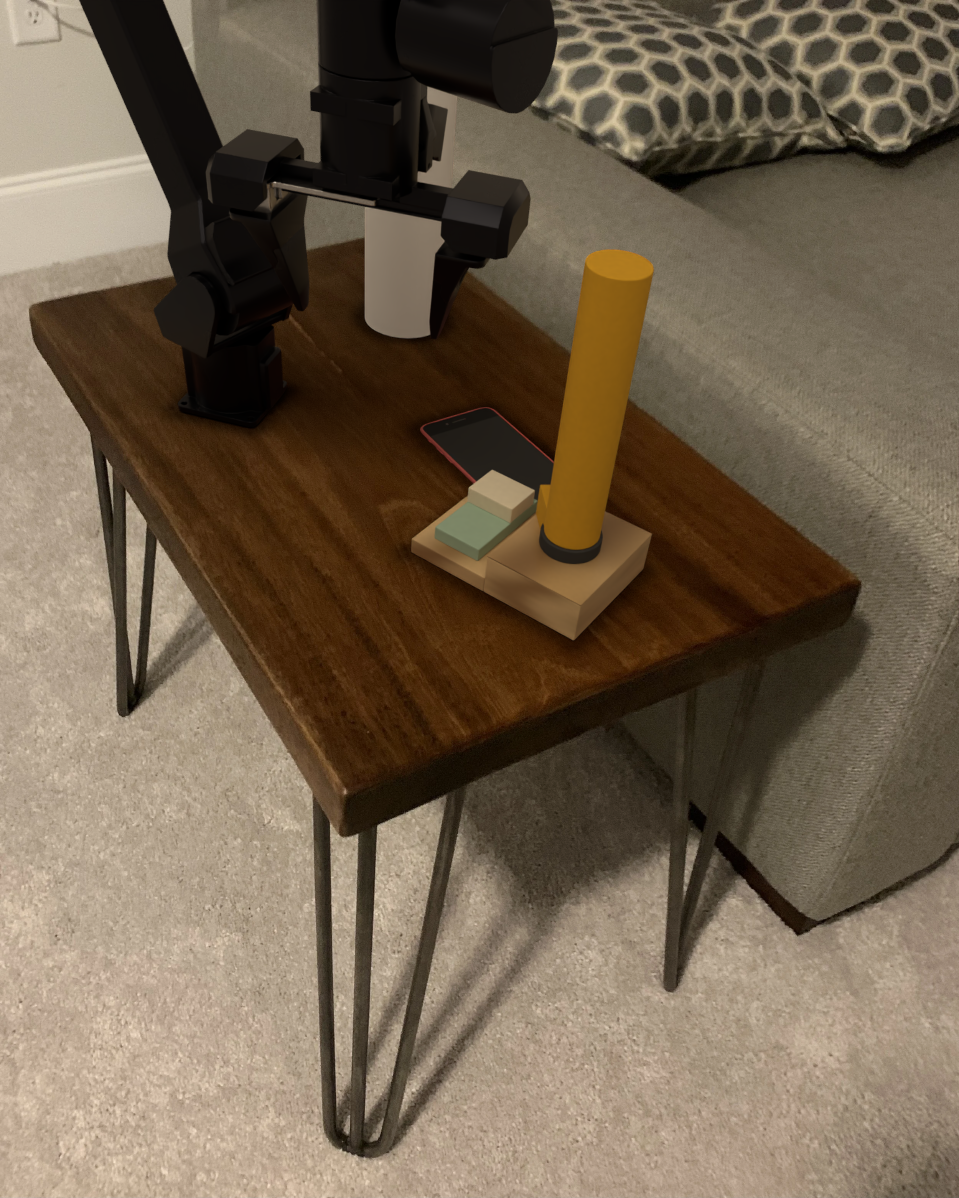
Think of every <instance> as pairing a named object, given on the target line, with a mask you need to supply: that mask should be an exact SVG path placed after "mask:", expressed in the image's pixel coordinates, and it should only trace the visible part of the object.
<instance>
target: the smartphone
mask: <svg viewBox="0 0 959 1198" xmlns="http://www.w3.org/2000/svg"><path fill="white" fill-rule="evenodd" d="M420 433H421V434H422V436H424V437H425V438H426V439H427V441H428V442H429V443H430V444H432V445H433V446H434V447H435V449H436V450H437V451H438V452H439V453H440V454H442V455H443V456H444V457H445V459H446V460H447V461H449V462H450V464H452V465H453V466H455V467H456V468H457V470H459V472H461V473H462V474H463V475H464V476H465V477H466V478H467V479H468V480H469V481H470V482H471V483H472V485H473V484H474V483H475V482H477V481H478V480H479V479H481V478H482V477H483V476H485V475H486V474H487V473H489V472H490V471H491V470H494V471H496V472H498V473H500V474H502V475H504V476H506V477H508V478H510V479H512V480H514V481H516V482H519V483H521V484H523V485H525V486H527V487H529V488H531V489H533V490H535V494H534V499H536V500H537V501H538V496H539V489H540V485H551V479H552V472H553V466H554V460H553V459H552V458H550V456H548V455H547V454H546V453H544V451H542V450H541V449H540V448H539V447H538V446H537V445H536V444H534V443H533V442H532V441H531V440H529V438H528V437H527V436H525V435H524V434H523V433H522V432H521V431H520V430H518V429H517V428H516V427H515V426H514V425H512V423H510V422H509V421H508V420H507V419H505V417H504V416H502V414H500V413H499V412H498V411H497V410H496V409H494V408H491V407H487V406H485V407H478V408H474V409H471V410H467V411H465V412H461V413H457V414H455V415H450V416H448V417H443V418H440V419H437V420H434V421H430V422H428V423H425V424H423V425H422V426H421V427H420Z"/></svg>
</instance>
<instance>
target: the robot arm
mask: <svg viewBox="0 0 959 1198" xmlns="http://www.w3.org/2000/svg"><path fill="white" fill-rule="evenodd" d="M78 2H79V4H80V6H81V9H82V11H83V13H84V15H85V17H86V20H87V22H88V24H89V26H90V28H91V31H92V33H93V36H94V38H95V40H96V42H97V45H98V47H99V49H100V51H101V54H102V56H103V58H104V61H105V63H106V65H107V67H108V70H109V72H110V75H111V77H112V79H113V81H114V83H115V85H116V88H117V91H118V92H119V95H120V96H121V97H120V98H121V99H122V102H123V104H124V106H125V109H126V110H127V113H128V115H129V117H130V120H131V122H132V124H133V126H134V128H135V131H136V134H137V135H138V138H139V140H140V143H141V144H142V147H143V149H144V152H145V153H146V156H147V158H148V160H149V162H150V165H151V167H152V169H153V172H154V174H155V176H156V179H157V181H158V183H159V186H160V187H161V191H162V192H163V195H164V197H165V199H166V201H167V204H168V207H169V211H170V218H169V230H168V241H167V252H166V255H167V256H166V257H167V261H168V264H169V266H170V269H171V272H172V275H173V278H174V281H175V284H176V285H175V286H174V287H173V288H172V289H171V290H170V291H169V292H168V293H167V294H166V295H165V296H164V297H163V298H162V299H161V300H160V301H159V302H158V303H157V304H156V305H155V306H154V308H153V314H154V316H155V319H156V322H157V325H158V326H159V330H160V333H161V336H162V337H163V338H165V339H166V340H168V341H170V342H172V343H174V344H176V345H177V346H180V348H181V354H182V361H183V369H184V376H185V383H186V385H185V386H186V391H187V392H186V393H185V395H183V397H182V398H181V399H180V400H179V401H178V402H177V409H178V410H179V411H180V412H184V413H188V414H192V415H197V416H200V417H204V418H209V419H214V420H217V421H222V422H227V423H231V424H235V425H240V426H244V427H247V428H254V427H256V426H258V425H259V423H260V422H261V420H263V418H264V417H265V416H266V415H267V413H269V411H270V410H271V409H272V408H273V407H274V406H275V405H276V404H277V402H278V401H279V400H280V399H281V398H282V396H283V395H285V394H284V393H285V392H286V391H287V389H288V382H287V381H286V380H284V374H283V357H282V356H283V355H282V350H281V348H280V347H279V346H276V335H275V326H274V325H275V324H278V323H280V322H284V321H287V320H288V319H289V318H290V316H291V312H292V308H293V306H294V307H295V309H296V311H298V312H304V311H305V310H306V309H307V308H308V307H309V303H310V275H309V262H308V252H307V251H308V250H307V241H306V228H305V215H306V208H307V205H308V204H307V203H308V198H309V197H312V198H317V199H323V200H327V201H333V202H337V203H338V202H339V203H343V204H348V205H354V206H359V207H363V208H365V207H368V208H374V209H379V210H384V211H389V212H394V213H399V214H405V215H410V216H415V217H420V218H425V219H430V220H436V221H441V237H442V238H443V240H444V243H443V244H442V245H441V247H440V248H439V249H438V251H437V252H436V253H435V260H434V272H433V283H432V295H431V306H430V317H429V326H430V335H429V336H430V337H429V338H430V339H431V340H434V341H435V340H438V338H439V337H440V335H441V333H442V331H443V329H444V327H445V324H446V322H447V319H448V317H449V314H450V312H451V310H452V307H453V305H454V302H455V300H456V298H457V295H458V293H459V291H460V288H461V286H462V284H463V281H464V278H465V277H466V275H467V273H468V271H469V270H470V269H474V270H479V269H483V268H485V267H486V266H487V264H488V263H489V261H490V260H501V259H507V258H508V257H509V256H510V254H511V252H512V251H513V249H514V247H515V246H516V244H517V243H518V242H519V240H520V238H521V236H522V235H523V233H524V231H525V230H526V229H527V227H528V225H529V218H530V209H531V201H532V197H531V193H530V190H529V189H528V187H527V185H526V184H525V182H524V180H523V179H519V178H514V177H508V176H503V175H499V174H493V173H487V172H483V171H476V170H471V169H467V171H466V172H465V173H464V175H463V176H462V177H461V178H460V180H459V181H458V182H457V183H456V184H455V186H454V187H452V188H449V187H443V186H438V185H433V184H427V183H422V182H417V181H418V172H424V173H427V171H428V170H429V169H430V168H431V167H432V160H435V161H441V156H442V149H443V142H444V135H445V127H446V120H447V113H448V109H446V108H443V107H440V106H437V105H433V104H429V103H428V102H427V87H430V88H434V89H437V90H440V91H443V92H446V93H449V94H452V95H455V96H457V98H461V99H463V100H464V99H465V100H466V101H470V102H473V103H477V104H479V105H483V106H485V107H489V108H491V109H495V110H498V111H501V112H503V113H506V114H515V115H516V114H521V113H522V112H524V111H525V110H527V108H529V107H530V106H531V105H532V104H533V103H534V102H535V100H537V99H538V97H539V96H540V94H541V92H542V90H543V89H544V87H545V85H546V84H547V81H548V79H549V76H550V74H551V71H552V68H553V64H554V61H555V58H556V52H557V46H558V39H559V38H558V37H559V29H558V28H557V27H556V24H555V13H554V9H553V5H552V1H551V0H315V8H316V43H317V44H316V47H317V82H318V83H317V86H315V87H314V88H313V89H311V90H310V91H309V105H310V112H314V113H318V119H319V120H318V121H319V125H318V126H319V157H320V158H319V159H320V160H319V161H318V162H315V161H310V160H305V148H304V146H303V144H302V143H301V141H300V140H299V138H297V137H293V136H288V135H282V134H277V133H271V132H265V131H261V130H256V129H251V128H250V129H249V128H247V129H245V130H244V131H242V132H241V133H239V134H238V135H237V136H235V137H234V138H233V139H232V140H230V141H228V142H227V143H225V144H223V142H222V140H221V137H220V135H219V132H218V129H217V127H216V124H215V122H214V119H213V118H212V115H211V112H210V110H209V107H208V105H207V103H206V101H205V98H204V95H203V93H202V91H201V88H200V85H199V83H198V81H197V79H196V76H195V73H194V71H193V68H192V67H191V64H190V62H189V59H188V57H187V54H186V52H185V49H184V47H183V45H182V41H181V40H180V37H179V35H178V32H177V30H176V28H175V25H174V22H173V20H172V18H171V14H170V13H169V10H168V7H167V5H166V3H165V0H78Z"/></svg>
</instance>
